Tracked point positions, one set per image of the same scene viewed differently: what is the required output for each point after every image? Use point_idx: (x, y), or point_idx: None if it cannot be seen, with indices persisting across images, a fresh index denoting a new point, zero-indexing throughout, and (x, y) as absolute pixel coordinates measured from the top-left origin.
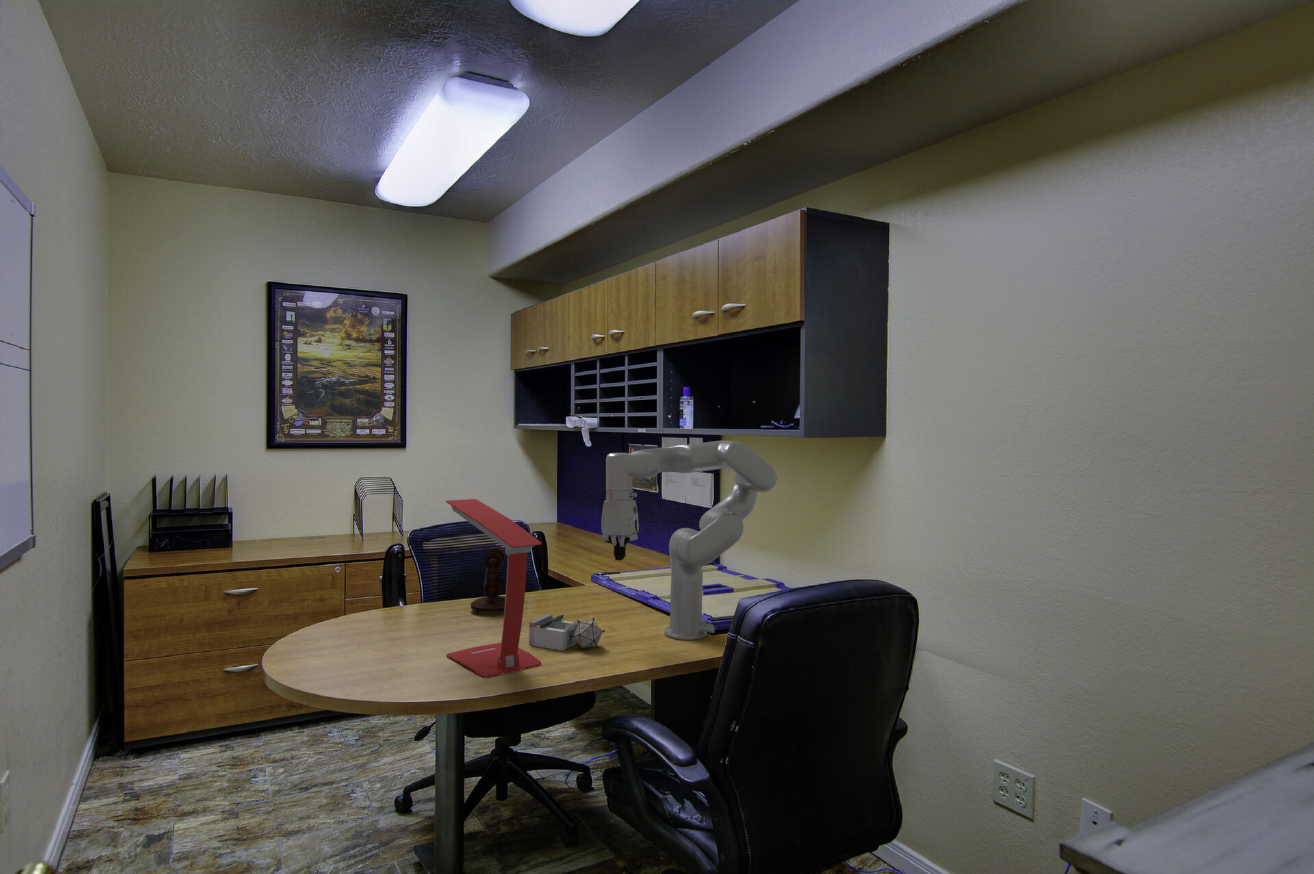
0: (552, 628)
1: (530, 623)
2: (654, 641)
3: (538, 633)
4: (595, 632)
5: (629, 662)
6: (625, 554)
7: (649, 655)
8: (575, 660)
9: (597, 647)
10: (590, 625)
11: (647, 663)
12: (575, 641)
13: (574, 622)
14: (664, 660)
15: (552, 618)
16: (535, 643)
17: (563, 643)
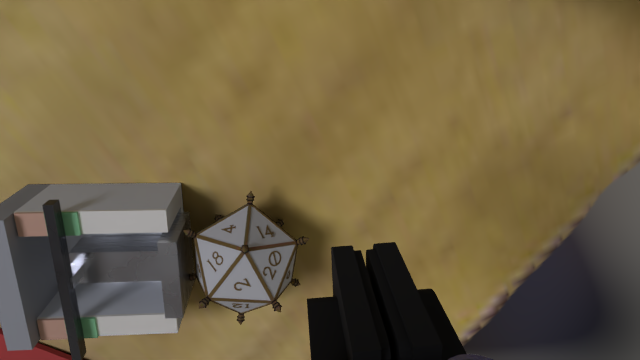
0: (113, 318)
1: (15, 347)
2: (439, 55)
3: None
4: (286, 279)
5: (430, 285)
6: (434, 294)
7: (468, 204)
8: (276, 339)
9: (280, 224)
10: (269, 304)
11: (483, 268)
12: None
13: (162, 258)
14: (525, 224)
15: (15, 218)
16: None
17: None
